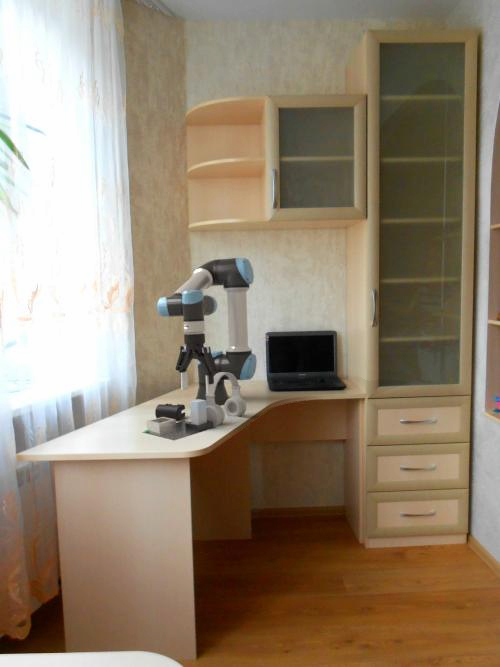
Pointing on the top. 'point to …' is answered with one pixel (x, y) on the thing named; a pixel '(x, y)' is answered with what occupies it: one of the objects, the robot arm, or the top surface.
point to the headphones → (232, 405)
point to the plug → (198, 411)
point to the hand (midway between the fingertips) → (197, 391)
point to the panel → (175, 428)
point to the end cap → (170, 411)
